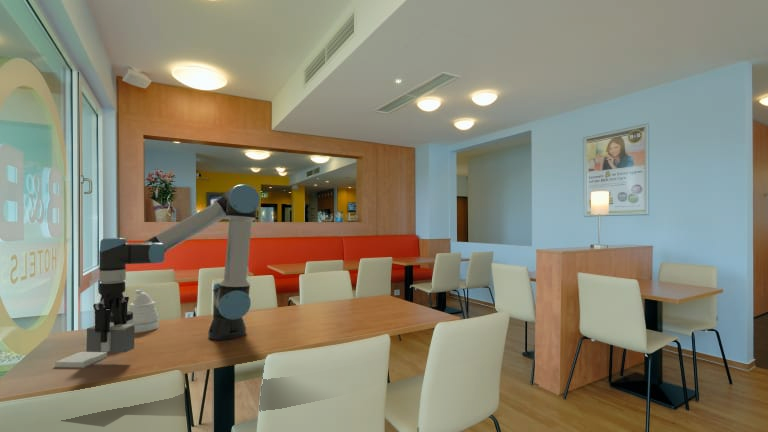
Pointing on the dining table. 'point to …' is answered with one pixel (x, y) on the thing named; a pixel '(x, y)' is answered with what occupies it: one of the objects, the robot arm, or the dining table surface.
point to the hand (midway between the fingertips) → (111, 348)
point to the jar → (129, 318)
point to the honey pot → (144, 313)
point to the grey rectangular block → (112, 338)
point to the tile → (81, 359)
